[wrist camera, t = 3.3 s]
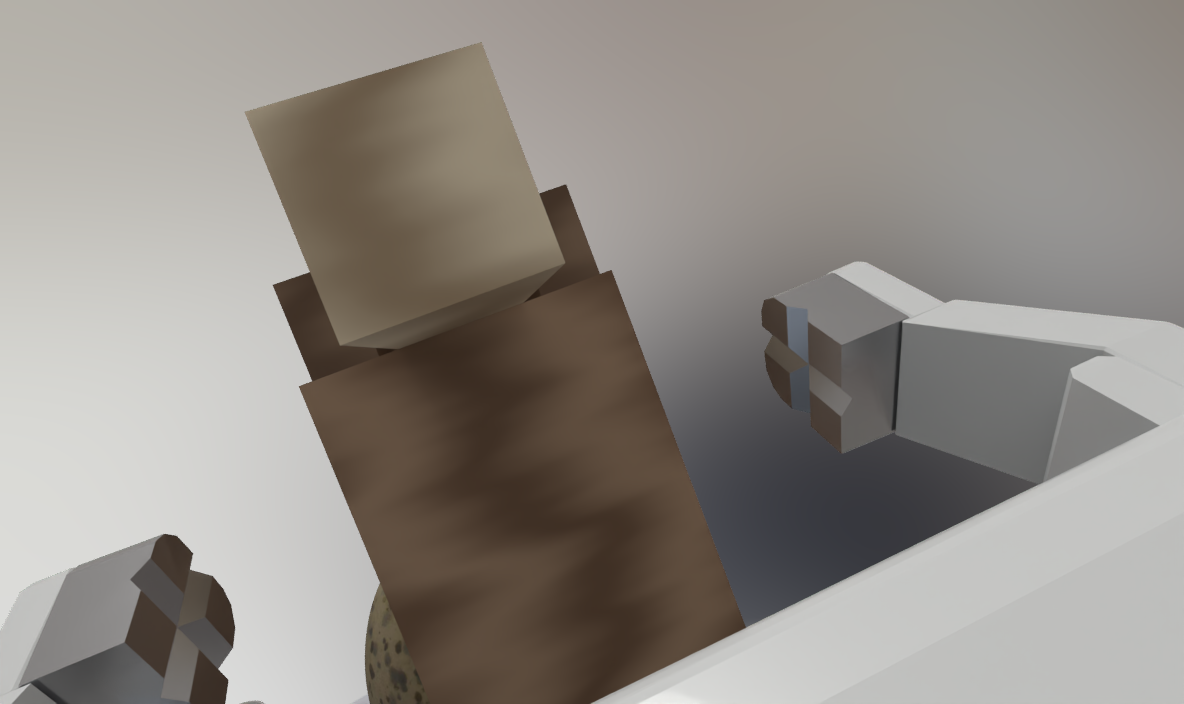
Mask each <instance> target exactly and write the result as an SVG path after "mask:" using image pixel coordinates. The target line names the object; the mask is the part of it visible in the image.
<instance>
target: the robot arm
mask: <svg viewBox="0 0 1184 704" xmlns="http://www.w3.org/2000/svg"><path fill="white" fill-rule="evenodd" d="M762 326H763V327H764V328H765V329H766V330H768V331H769V332H770V333H771V334H772V335H773V336H772V338H771V339H770V342H769V343H768V345H767V347H766V349H765V351H764V352H765V361H766V368H767V372H768V375H769V377H770V380H771V382H772V385H773V387H774V389H775V390H776V391H777V393H778V394H779V396H780V397H781V398H782V400H783V401H784V402H786V403H787V404H788V405H789V406H790V407H791V408H792V409H796V410H799V411H804V412H807V413H810V414H811V427H812V428H814V429H815V430H816V431H817V432H818V433H819V434H820V435H821V436H822V437H823V438H825V439H826V440H827V441H828V442H829V443H830V444H831V445H832V446H833V447H834V448H836V449H837V450H838V451H839V452H840V453H841V454H842V453H845V452H847V451H849V450H852V449H854V448H857V447H859V446H862V445H864V444H866V443H869V442H871V441H873V440H876V439H878V438H881V437H883V436H886V435H888V434H891V433H893V432H895V431H896V435H898V436H901V437H904V438H907V439H910V440H913V441H916V442H919V443H922V444H925V445H927V446H930V447H933V448H936V449H939V450H942V451H945V452H947V453H950V454H953V455H956V456H959V457H962V458H965V459H968V460H970V461H973V462H976V463H979V464H982V465H985V466H988V467H991V468H994V469H997V470H999V471H1002V472H1005V473H1008V474H1011V475H1014V476H1017V477H1020V478H1022V479H1025V480H1028V481H1031V482H1034V483H1037V484H1039V485H1037V486H1035V487H1033V488H1031V489H1029V490H1027V491H1025V492H1023V493H1021V494H1019V495H1017V496H1015V497H1013V498H1011V499H1008V500H1007V501H1004V502H1002V503H1000V504H998V505H996V506H994V507H992V508H990V509H988V510H986V511H984V512H982V513H980V514H978V515H976V516H974V517H972V518H970V519H968V520H965V521H963V522H961V523H959V524H957V525H955V526H953V527H951V528H949V529H947V530H945V531H943V532H941V533H939V534H937V535H935V536H933V537H931V538H928V539H927V540H925V541H922V542H920V543H918V544H916V545H915V546H912V547H910V548H908V549H906V550H904V551H902V552H900V553H898V554H896V555H894V556H892V557H890V558H888V559H886V560H884V561H882V562H880V563H877V564H876V565H873V566H871V567H869V568H867V569H865V570H863V571H862V572H859V573H857V574H855V575H853V576H851V577H849V578H847V579H845V580H843V581H841V582H839V583H837V584H835V585H832V586H830V587H828V588H826V589H824V590H822V591H820V592H818V593H816V594H814V595H812V596H810V597H808V598H806V599H804V600H802V601H800V602H798V603H796V604H794V605H792V606H790V607H788V608H786V609H784V610H781V611H780V612H778V613H775V614H773V615H771V616H769V617H767V618H765V619H763V620H761V621H759V622H757V623H755V624H753V625H751V626H749V627H747V628H745V629H743V630H741V631H739V632H736V633H734V634H732V635H730V636H728V637H726V638H724V639H722V640H720V641H718V642H716V643H714V644H712V645H710V646H708V647H706V648H704V649H702V650H700V651H698V652H696V653H694V654H691V655H689V656H687V657H685V658H683V659H681V660H679V661H677V662H675V663H673V664H671V665H669V666H667V667H665V668H663V669H661V670H659V671H657V672H655V673H653V674H650V675H648V676H646V677H644V678H642V679H640V680H638V681H636V682H634V683H632V684H630V685H628V686H626V687H624V688H622V689H620V690H618V691H616V692H614V693H611V694H609V695H607V696H605V697H603V698H601V699H599V700H597V701H595V702H593V703H591V704H1184V328H1182V327H1179V326H1177V325H1174V324H1172V323H1169V322H1164V321H1154V320H1145V319H1135V318H1125V317H1115V316H1107V315H1096V314H1087V313H1078V312H1068V311H1058V310H1049V309H1040V308H1030V307H1021V306H1011V305H1002V304H992V303H982V302H973V301H963V300H953V301H950V302H948V303H944V302H941V301H940V300H938V299H936V298H934V297H932V296H930V295H928V294H926V293H924V292H922V291H920V290H918V289H917V288H914V287H913V286H911V285H909V284H907V283H905V282H903V281H901V280H899V279H897V278H895V277H893V276H891V275H889V274H888V273H885V272H883V271H882V270H880V269H878V268H876V267H874V266H872V265H870V264H868V263H866V262H853V263H851V264H849V265H846V266H844V267H842V268H839V269H837V270H835V271H832V272H830V273H828V274H826V275H825V276H823V277H820V278H818V279H815V280H813V281H810V282H808V283H805V284H803V285H801V286H798V287H795V288H793V289H791V290H788V291H786V292H783V293H781V294H778V295H776V296H773V297H771V298H769V299H766V300H764V303H763V307H762ZM192 555H193V553H192V552H191V551H190V550H189V549H188V547H186V545H185V544H184V543H183V542H182V541H181V540H180V539H179V538H178V537H177V536H174V535H168V534H163V535H160V536H157V537H154V538H152V539H149V540H146V541H144V542H141V543H138V544H136V545H133V546H130V547H128V548H125V549H122V550H119V551H117V552H114V553H111V554H108V555H106V556H103V557H100V558H98V559H95V560H92V561H90V562H87V563H84V564H81V565H79V566H78V567H76V568H71V569H68V570H66V571H63V572H61V573H58V574H55V575H53V576H51V577H48V578H45V579H43V580H40V581H38V582H35V583H33V584H32V585H30V586H29V587H27V588H26V589H24V590H23V591H21V592H20V593H19V595H18V597H17V599H16V601H15V603H14V605H13V607H12V609H11V611H10V613H9V615H8V617H7V619H6V621H5V623H4V625H3V627H2V629H1V631H0V704H225V701H226V693H227V687H228V679H227V678H226V677H225V676H224V675H223V674H222V673H221V672H220V671H219V670H218V668H219V667H220V665H221V664H222V663H223V661H224V660H225V658H226V657H227V655H228V654H229V653H230V651H231V650H232V648H233V642H234V633H235V625H234V619H233V614H232V608H231V604H230V602H229V600H228V598H227V596H226V594H225V592H224V590H223V588H222V587H221V586H220V585H219V584H218V582H217V581H216V580H215V579H214V577H213V576H210V575H206V574H203V573H200V572H195V571H192V570H190V566H191V561H192Z"/></svg>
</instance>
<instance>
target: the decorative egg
mask: <svg viewBox="0 0 1184 704" xmlns="http://www.w3.org/2000/svg"><path fill="white" fill-rule="evenodd" d="M365 646H366V647H365V672H366V684H367V690H368V696H369V701H370V704H430V702H429V699H428V697H427V695H426V692H425V690H424V687H423V685H422V683H421V680H420V678H419V675H418V673H417V671H416V668H415V666H414V663H413V661H412V658H411V656H410V654H409V651H408V649H407V646H406V644H405V642H404V639H403V637H402V634H401V632H400V629H399V627H398V625H397V622H396V620H395V617H394V615H393V613H392V610H391V608H390V605H389V603H388V600H387V598H386V596H385V593H384V591H383V588H382V586H381V584H380V585H379V587H378V589H377V592H376V595H375V598H374V601H373V604H372V608H371V612H370V616H369V621H368V627H367V634H366V644H365Z"/></svg>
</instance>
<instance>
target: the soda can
mask: <svg viewBox="0 0 1184 704" xmlns="http://www.w3.org/2000/svg"><path fill="white" fill-rule="evenodd" d="M241 704H264V703H263V702H261V701H248V702H244V703H241Z"/></svg>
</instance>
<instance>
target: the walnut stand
mask: <svg viewBox="0 0 1184 704" xmlns="http://www.w3.org/2000/svg"><path fill="white" fill-rule="evenodd" d="M539 195H540V197H541V200H542V203H543V205H544V208H545V210H546V213H547V216H548V218H549V221H550V224H551V226H552V229H553V231H554V234H555V237H556V239H557V242H558V245H559V247H560V250H561V252H562V255H563V258H564V260H565V264H564V265H563V266H562V267H561V268H560V269H559V270H558V271H557V272H555V273H554V274H553V275H552V276H551V277H550V278H549V279H548V280H547V281H546V282H545V283H544V284H543V285H542V286H541V287H540V288H538V289H537V290H536V291H535V292H534V293H533V294H532V295H531V296H530V297H529V298H528V299H527V300H526V301H525V302H524V303H521V304H519V305H516V306H513V307H511V308H508V309H505V310H502V311H500V312H497V313H494V314H492V315H489V316H486V317H484V318H481V319H478V320H476V321H473V322H470V323H468V324H465V325H462V326H460V327H457V328H454V329H452V330H449V331H446V332H443V333H441V334H438V335H435V336H433V337H430V338H427V339H425V340H422V341H419V342H417V343H414V344H411V345H409V346H406V347H403V348H401V349H387V348H371V347H355V346H340V344H339V342H338V339H337V337H336V335H335V332H334V330H333V327H332V325H331V322H330V320H329V317H328V315H327V312H326V310H325V308H324V305H323V303H322V300H321V298H320V295H319V293H318V290H317V288H316V285H315V283H314V281H313V278H312V276H311V273H310V272H309V273H307V274H303V275H301V276H298V277H295V278H292V279H289V280H286V281H283V282H280V283H277V284H274V285H273V287H274V289H275V291H276V294H277V296H278V299H279V301H280V304H281V306H282V309H283V311H284V313H285V316H286V318H287V321H288V323H289V326H290V328H291V330H292V333H293V335H294V338H295V340H296V343H297V345H298V347H299V350H300V352H301V355H302V357H303V360H304V362H305V364H306V366H307V369H308V371H309V374H310V377H311V379H312V382H309V383H307V384H304V385H301V386H299V388H300V390H301V393H302V395H303V398H304V400H305V402H306V405H307V407H308V410H309V412H310V414H311V417H312V419H313V422H314V424H315V426H316V429H317V431H318V434H319V436H320V439H321V441H322V443H323V446H324V448H325V451H326V453H327V455H328V458H329V460H330V463H331V465H332V467H333V470H334V472H335V475H336V477H337V479H338V482H339V485H340V487H341V489H342V492H343V494H344V497H345V499H346V501H347V504H348V506H349V509H350V511H351V514H352V516H353V518H354V520H355V523H356V525H357V528H358V530H359V533H360V535H361V538H362V540H363V542H364V545H365V547H366V550H367V552H368V555H369V557H370V559H371V562H372V564H373V567H374V569H375V571H376V574H377V576H378V579H379V581H380V584H381V586H382V588H383V591H384V593H385V596H386V598H387V600H388V603H389V605H390V608H391V610H392V613H393V615H394V617H395V620H396V622H397V625H398V627H399V629H400V632H401V634H402V637H403V639H404V642H405V644H406V646H407V649H408V651H409V654H410V656H411V658H412V661H413V663H414V666H415V668H416V671H417V673H418V675H419V678H420V680H421V683H422V685H423V687H424V690H425V692H426V695H427V697H428V699H429V702H430V704H591V703H593V702H595V701H597V700H599V699H601V698H603V697H605V696H607V695H609V694H611V693H614V692H616V691H618V690H620V689H622V688H624V687H626V686H628V685H630V684H632V683H634V682H636V681H638V680H640V679H642V678H644V677H646V676H648V675H650V674H653V673H655V672H657V671H659V670H661V669H663V668H665V667H667V666H669V665H671V664H673V663H675V662H677V661H679V660H681V659H683V658H685V657H687V656H689V655H691V654H694V653H696V652H698V651H700V650H702V649H704V648H706V647H708V646H710V645H712V644H714V643H716V642H718V641H720V640H722V639H724V638H726V637H728V636H730V635H732V634H734V633H736V632H739V631H741V630H743V629H745V628H746V627H745V624H744V622H743V619H742V616H741V614H740V611H739V608H738V606H737V603H736V600H735V597H734V595H733V592H732V590H731V587H730V584H729V581H728V579H727V576H726V573H725V571H724V569H723V566H722V563H721V560H720V558H719V555H718V553H717V550H716V547H715V544H714V542H713V539H712V536H711V534H710V531H709V528H708V526H707V523H706V520H705V518H704V515H703V512H702V510H701V507H700V504H699V502H698V499H697V496H696V494H695V491H694V488H693V486H692V483H691V480H690V478H689V475H688V473H687V470H686V467H685V464H684V462H683V459H682V456H681V454H680V451H679V448H678V446H677V443H676V440H675V438H674V435H673V433H672V430H671V427H670V425H669V422H668V419H667V417H666V414H665V411H664V409H663V406H662V403H661V401H660V398H659V395H658V393H657V391H656V387H655V385H654V382H653V379H652V377H651V374H650V371H649V369H648V366H647V363H646V361H645V359H644V355H643V353H642V350H641V348H640V345H639V342H638V339H637V337H636V334H635V331H634V329H633V326H632V324H631V321H630V318H629V316H628V313H627V310H626V307H625V305H624V302H623V300H622V297H621V294H620V292H619V289H618V286H617V284H616V281H615V278H614V276H613V273H612V270H610V271H607V272H605V273H602V274H599V271H598V268H597V265H596V263H595V260H594V257H593V255H592V252H591V249H590V247H589V245H588V241H587V239H586V236H585V233H584V231H583V228H582V226H581V223H580V220H579V218H578V215H577V212H576V210H575V207H574V204H573V202H572V199H571V196H570V194H569V191H568V188H567V186H566V185H563V186H560V187H557V188H554V189H552V190H548V191H545V192H543V193H540V194H539Z"/></svg>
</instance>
